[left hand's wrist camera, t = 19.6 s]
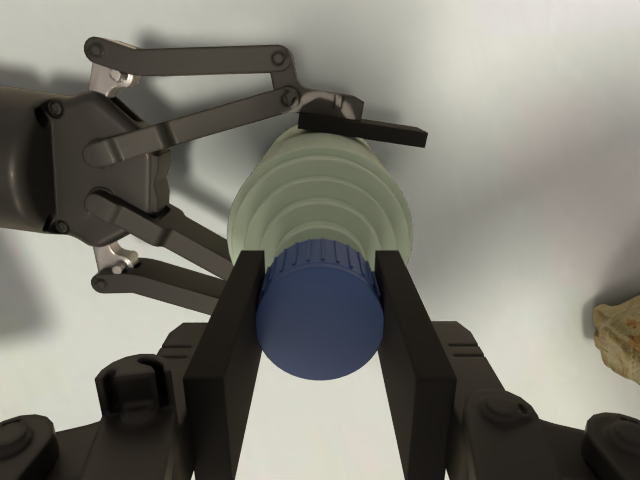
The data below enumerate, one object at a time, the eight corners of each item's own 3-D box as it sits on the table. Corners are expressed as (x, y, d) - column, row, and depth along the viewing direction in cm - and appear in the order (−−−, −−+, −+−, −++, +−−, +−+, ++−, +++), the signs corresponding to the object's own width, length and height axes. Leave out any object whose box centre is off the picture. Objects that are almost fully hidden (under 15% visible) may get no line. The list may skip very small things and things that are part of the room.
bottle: (307, 94, 29) (287, 118, 11) (401, 168, 30) (514, 290, 13) (239, 190, 31) (133, 338, 13) (331, 254, 33) (343, 461, 15)
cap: (378, 336, 15) (387, 378, 13) (268, 342, 15) (260, 385, 13) (375, 233, 14) (386, 261, 12) (256, 240, 14) (245, 269, 12)
